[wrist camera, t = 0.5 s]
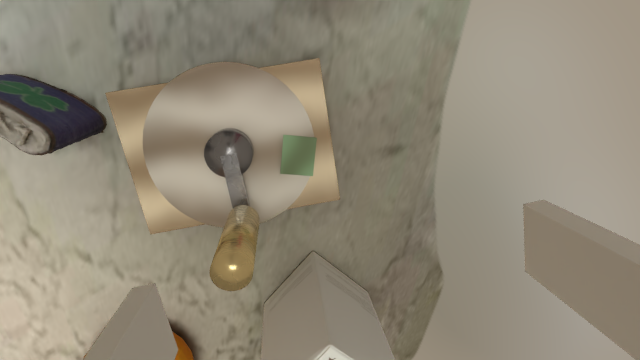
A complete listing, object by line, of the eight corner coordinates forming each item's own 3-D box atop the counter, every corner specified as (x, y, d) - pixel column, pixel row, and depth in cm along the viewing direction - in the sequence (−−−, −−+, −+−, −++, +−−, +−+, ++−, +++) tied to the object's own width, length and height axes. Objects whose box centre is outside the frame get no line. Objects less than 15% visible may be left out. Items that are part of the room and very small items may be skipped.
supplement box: (260, 304, 43) (251, 421, 29) (312, 248, 42) (330, 342, 27) (319, 343, 45) (338, 471, 31) (370, 292, 44) (414, 400, 30)
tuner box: (121, 79, 35) (100, 80, 31) (313, 48, 36) (317, 45, 32) (165, 226, 39) (152, 244, 35) (335, 195, 40) (342, 209, 36)
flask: (-2, 93, 34) (-122, 104, 24) (8, 63, 33) (-111, 61, 23) (101, 140, 36) (32, 168, 26) (113, 112, 35) (46, 130, 25)
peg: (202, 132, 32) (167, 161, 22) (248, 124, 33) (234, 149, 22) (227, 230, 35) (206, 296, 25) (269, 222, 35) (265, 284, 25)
